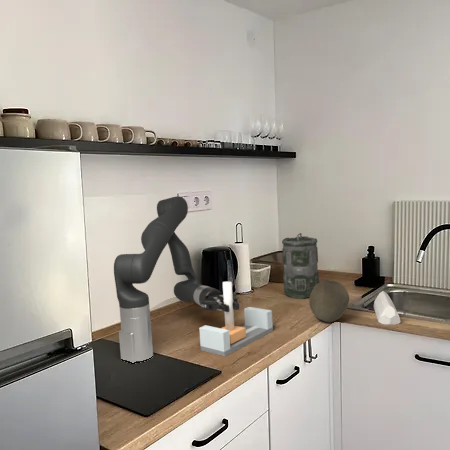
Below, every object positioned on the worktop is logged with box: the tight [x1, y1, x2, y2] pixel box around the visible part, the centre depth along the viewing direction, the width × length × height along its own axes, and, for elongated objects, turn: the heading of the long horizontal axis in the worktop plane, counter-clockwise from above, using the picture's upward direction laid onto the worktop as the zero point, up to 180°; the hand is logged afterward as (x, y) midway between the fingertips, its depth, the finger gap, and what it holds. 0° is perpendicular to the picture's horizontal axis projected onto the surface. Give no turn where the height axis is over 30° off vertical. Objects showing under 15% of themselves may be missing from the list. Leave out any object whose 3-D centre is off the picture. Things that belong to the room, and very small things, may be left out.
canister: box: [281, 232, 320, 300], centre depth 210 cm, size 16×16×28 cm
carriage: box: [221, 280, 246, 344], centre depth 153 cm, size 8×7×19 cm
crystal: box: [373, 290, 401, 326], centre depth 174 cm, size 7×7×24 cm
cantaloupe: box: [309, 280, 350, 323], centre depth 171 cm, size 14×14×15 cm
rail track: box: [199, 306, 274, 358], centre depth 157 cm, size 27×10×8 cm, turn 141°
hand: (233, 307), depth 150 cm, fingers closed on carriage, 3 cm apart
